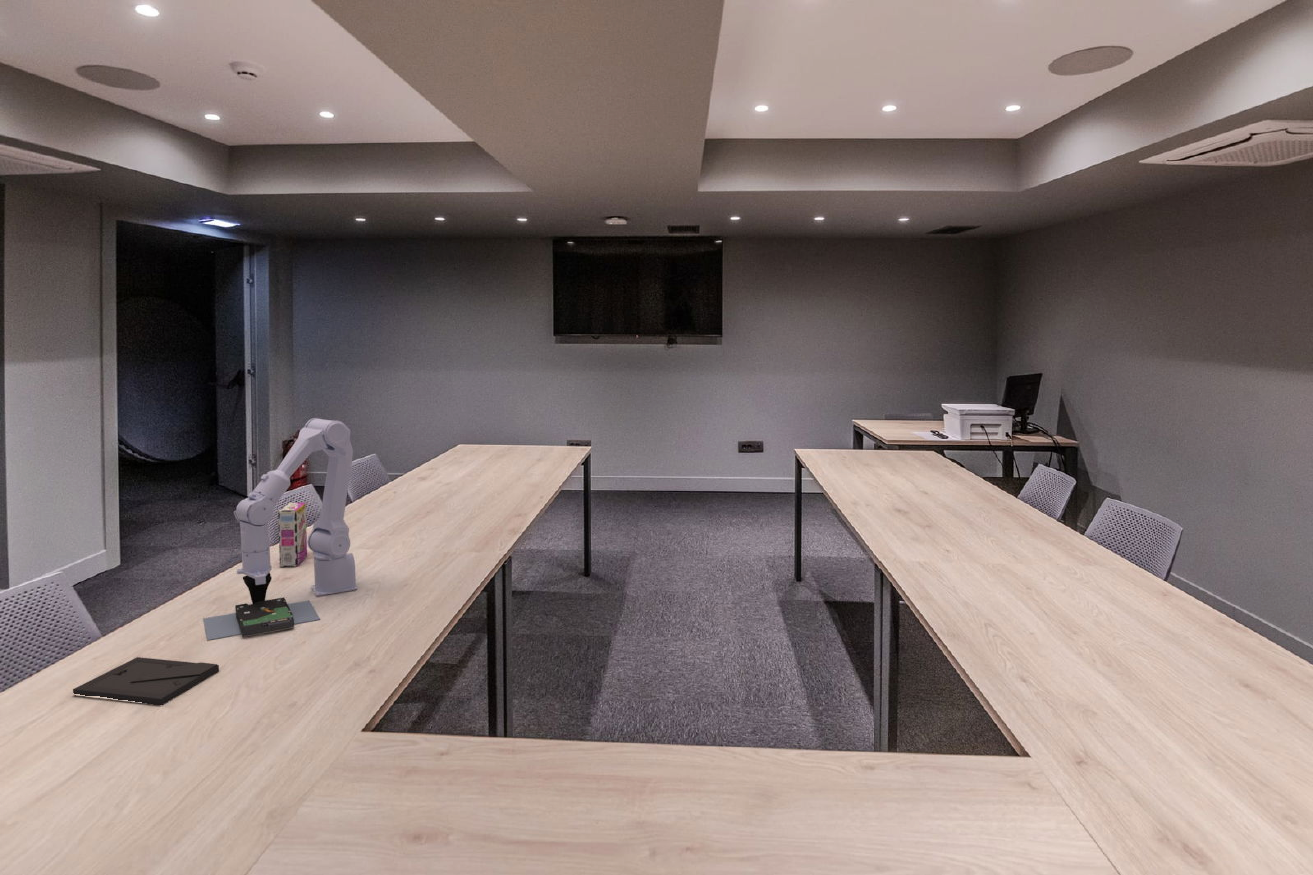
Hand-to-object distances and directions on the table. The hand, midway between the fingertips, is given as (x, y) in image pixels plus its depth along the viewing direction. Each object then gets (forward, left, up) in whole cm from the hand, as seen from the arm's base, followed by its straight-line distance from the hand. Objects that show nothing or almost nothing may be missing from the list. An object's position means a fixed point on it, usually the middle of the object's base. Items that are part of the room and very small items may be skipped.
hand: (258, 605), depth 166 cm
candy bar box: (-13, -37, -2) cm, 39 cm away
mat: (0, +6, -1) cm, 6 cm away
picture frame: (+21, +29, -2) cm, 36 cm away
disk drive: (0, +8, -1) cm, 9 cm away
